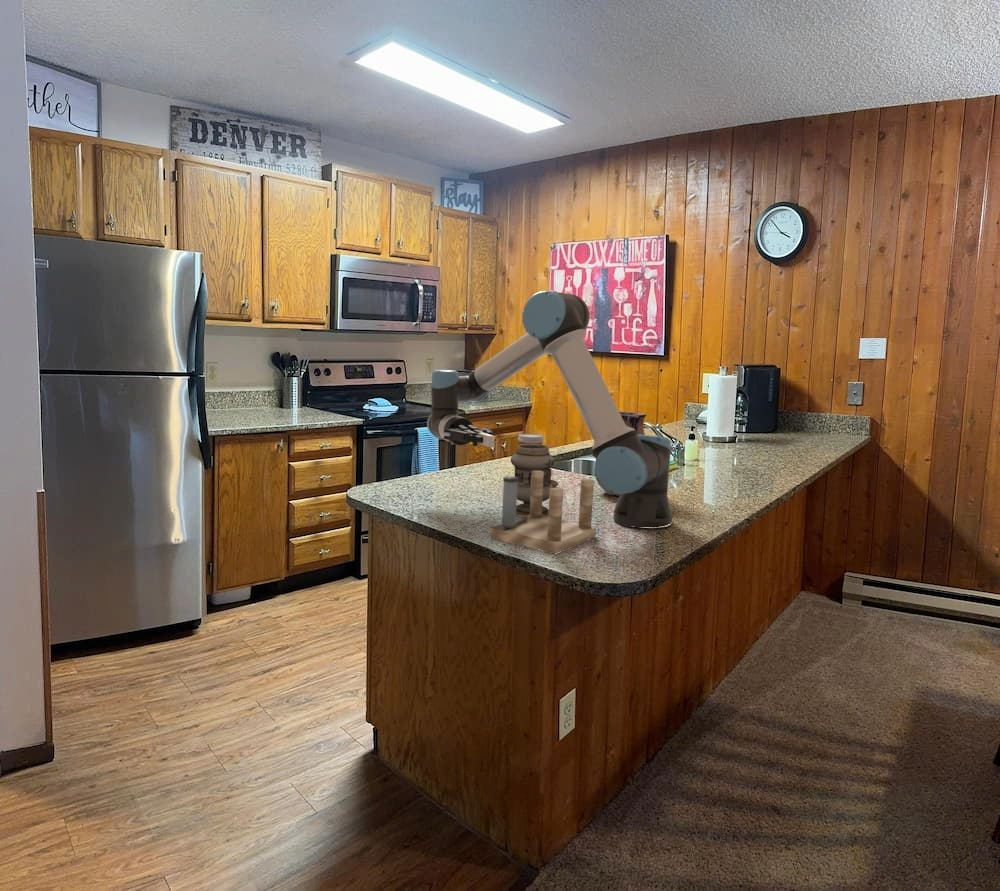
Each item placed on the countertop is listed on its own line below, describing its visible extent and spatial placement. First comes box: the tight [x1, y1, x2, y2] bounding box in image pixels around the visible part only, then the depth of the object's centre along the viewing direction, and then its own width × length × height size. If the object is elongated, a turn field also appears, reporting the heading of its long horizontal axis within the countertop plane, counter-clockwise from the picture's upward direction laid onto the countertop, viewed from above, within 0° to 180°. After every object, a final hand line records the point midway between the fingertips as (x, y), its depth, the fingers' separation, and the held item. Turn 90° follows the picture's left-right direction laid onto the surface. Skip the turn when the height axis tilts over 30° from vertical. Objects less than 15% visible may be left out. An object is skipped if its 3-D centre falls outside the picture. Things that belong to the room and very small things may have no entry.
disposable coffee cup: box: [517, 433, 545, 445], centre depth 254 cm, size 10×10×12 cm
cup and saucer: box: [549, 468, 559, 488], centre depth 223 cm, size 12×12×6 cm
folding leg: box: [501, 476, 528, 529], centre depth 168 cm, size 11×3×12 cm, turn 155°
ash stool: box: [490, 470, 597, 554], centre depth 167 cm, size 18×18×14 cm
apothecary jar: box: [510, 444, 555, 516], centre depth 192 cm, size 12×12×18 cm
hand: (491, 441), depth 170 cm, fingers closed
